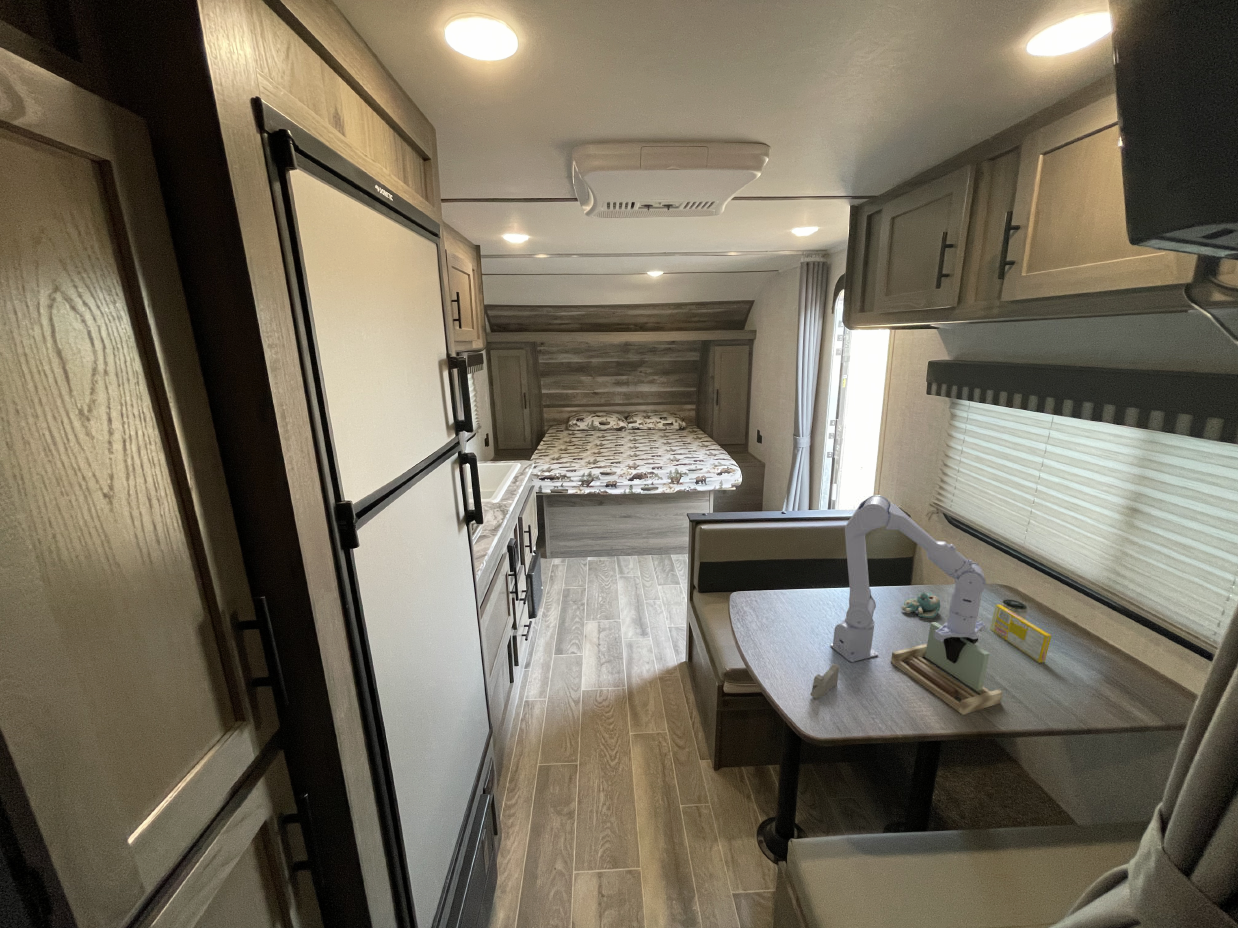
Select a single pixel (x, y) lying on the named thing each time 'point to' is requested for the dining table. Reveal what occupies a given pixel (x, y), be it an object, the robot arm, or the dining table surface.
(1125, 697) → the dining table surface
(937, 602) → the stuffed animal
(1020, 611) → the dark lidded jar
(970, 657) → the large sage green box
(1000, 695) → the offcut rack
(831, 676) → the beige angular flat piece
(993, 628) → the candy box
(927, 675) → the offcut stack
